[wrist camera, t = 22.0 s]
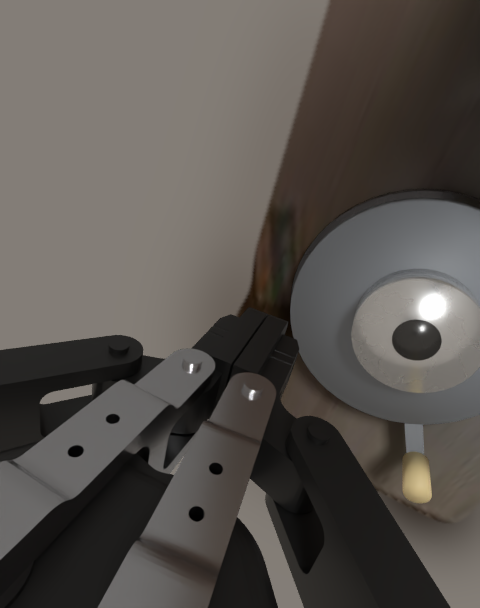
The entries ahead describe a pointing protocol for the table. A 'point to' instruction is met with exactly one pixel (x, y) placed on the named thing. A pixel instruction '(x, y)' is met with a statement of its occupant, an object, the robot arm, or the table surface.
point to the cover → (418, 331)
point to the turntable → (349, 290)
